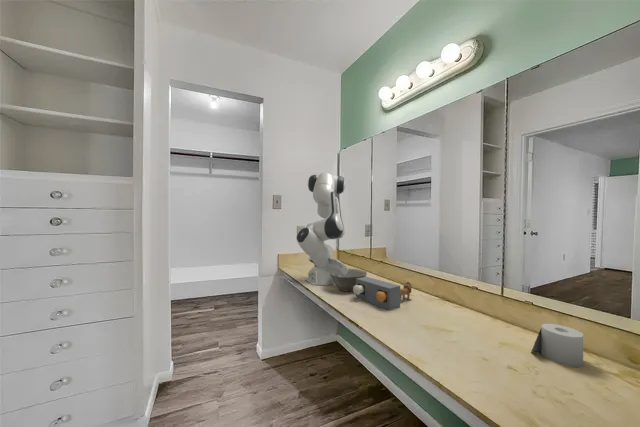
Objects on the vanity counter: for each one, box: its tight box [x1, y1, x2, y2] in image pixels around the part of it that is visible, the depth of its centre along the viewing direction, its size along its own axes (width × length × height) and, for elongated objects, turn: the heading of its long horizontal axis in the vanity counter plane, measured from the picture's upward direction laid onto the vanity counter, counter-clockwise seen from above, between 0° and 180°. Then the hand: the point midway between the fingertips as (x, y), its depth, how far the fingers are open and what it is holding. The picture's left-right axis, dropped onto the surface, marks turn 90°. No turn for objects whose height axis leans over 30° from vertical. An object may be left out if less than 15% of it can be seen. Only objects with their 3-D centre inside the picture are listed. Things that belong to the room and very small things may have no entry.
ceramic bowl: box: [329, 268, 368, 292], centre depth 148 cm, size 22×23×10 cm
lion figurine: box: [400, 280, 412, 304], centre depth 129 cm, size 15×5×9 cm, turn 133°
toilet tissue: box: [530, 323, 584, 368], centre depth 77 cm, size 9×13×9 cm
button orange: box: [376, 291, 387, 302], centre depth 119 cm, size 5×5×5 cm
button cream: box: [352, 285, 365, 296], centre depth 129 cm, size 5×5×5 cm
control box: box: [355, 276, 401, 311], centre depth 126 cm, size 22×8×10 cm, turn 36°
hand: (338, 275), depth 120 cm, fingers closed
